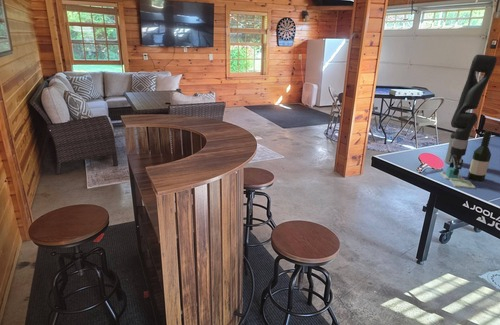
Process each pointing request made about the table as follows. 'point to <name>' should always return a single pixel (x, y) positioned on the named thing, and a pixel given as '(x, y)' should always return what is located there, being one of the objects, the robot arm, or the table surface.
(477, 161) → the wine bottle
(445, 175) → the grey tray
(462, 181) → the green tray
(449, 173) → the teal block
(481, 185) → the table surface
